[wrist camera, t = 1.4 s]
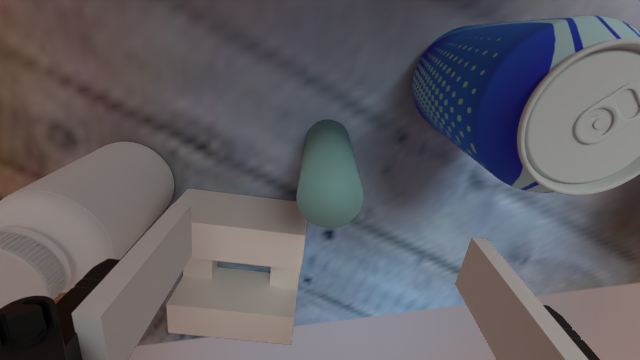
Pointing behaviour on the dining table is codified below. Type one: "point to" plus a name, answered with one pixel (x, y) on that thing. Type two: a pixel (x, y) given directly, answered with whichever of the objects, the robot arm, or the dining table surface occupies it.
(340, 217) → the peg
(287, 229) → the socket
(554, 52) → the beer can
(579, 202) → the dining table surface
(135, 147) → the pill bottle
